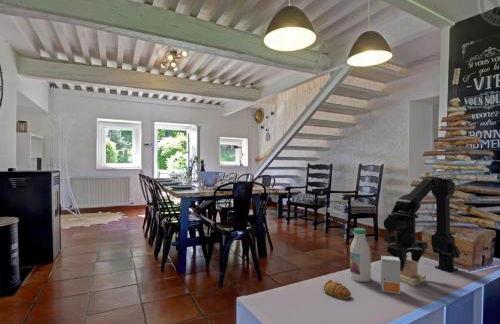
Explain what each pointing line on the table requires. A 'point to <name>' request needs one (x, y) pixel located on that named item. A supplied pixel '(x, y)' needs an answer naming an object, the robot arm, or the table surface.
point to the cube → (410, 268)
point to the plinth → (412, 279)
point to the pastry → (336, 290)
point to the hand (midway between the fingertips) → (407, 268)
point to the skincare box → (390, 274)
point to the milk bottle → (360, 257)
